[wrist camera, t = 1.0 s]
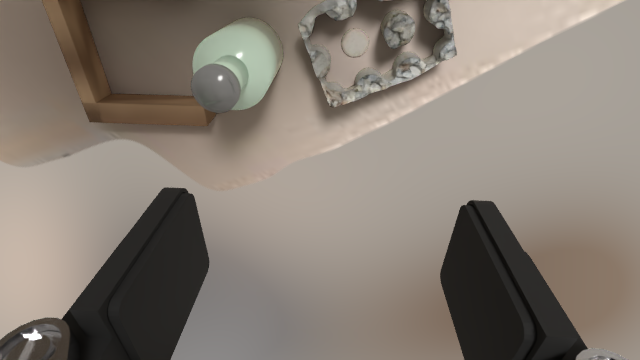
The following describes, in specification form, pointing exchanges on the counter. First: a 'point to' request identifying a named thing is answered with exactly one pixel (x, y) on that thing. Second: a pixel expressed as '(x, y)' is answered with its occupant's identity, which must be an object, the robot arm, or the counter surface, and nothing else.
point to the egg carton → (356, 42)
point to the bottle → (236, 65)
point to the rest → (93, 83)
